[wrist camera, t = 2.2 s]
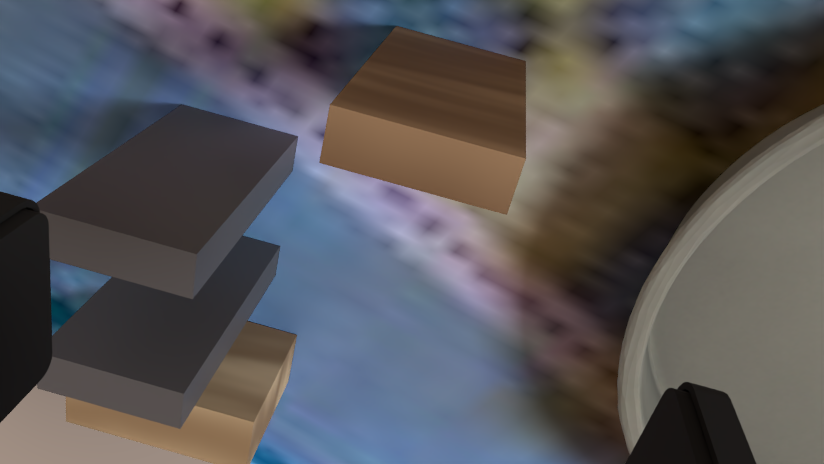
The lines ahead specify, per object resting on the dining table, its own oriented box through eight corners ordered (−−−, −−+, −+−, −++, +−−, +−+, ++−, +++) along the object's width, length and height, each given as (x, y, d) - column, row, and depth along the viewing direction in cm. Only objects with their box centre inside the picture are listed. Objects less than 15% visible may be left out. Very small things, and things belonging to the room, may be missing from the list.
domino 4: (173, 216, 31) (36, 351, 22) (280, 246, 31) (183, 393, 22) (171, 246, 32) (37, 388, 23) (275, 275, 32) (180, 429, 23)
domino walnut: (396, 26, 26) (330, 104, 17) (525, 61, 26) (525, 158, 17) (387, 67, 27) (319, 162, 18) (512, 101, 26) (506, 214, 18)
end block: (137, 290, 33) (65, 368, 28) (297, 334, 33) (253, 422, 28) (135, 338, 35) (66, 421, 30) (288, 381, 35) (245, 472, 29)
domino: (181, 104, 29) (29, 207, 20) (297, 136, 28) (196, 254, 20) (179, 139, 29) (31, 253, 21) (292, 171, 29) (192, 299, 20)
